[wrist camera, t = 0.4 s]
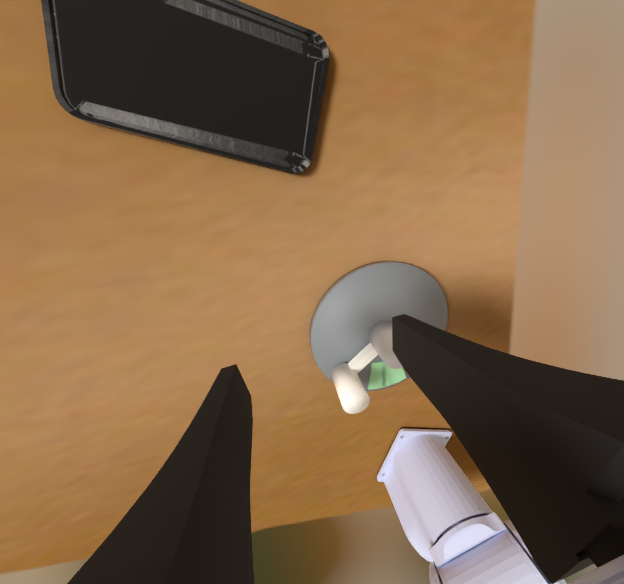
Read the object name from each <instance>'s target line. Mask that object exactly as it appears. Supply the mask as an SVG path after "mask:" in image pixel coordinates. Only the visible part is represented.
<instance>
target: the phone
mask: <svg viewBox="0 0 624 584" xmlns="http://www.w3.org/2000/svg"><path fill="white" fill-rule="evenodd" d="M41 2H42V10H43V17H44V25H45V32H46V40H47V47H48V54H49V62H50V69H51V77H52V84H53V90H54V93H55V96H56V98H57V100H58V102H59V103H60V105H61V106H62V107H63V108H64V109H65V110H66V111H67V112H69V113H70V114H71V115H73V116H75V117H77V118H79V119H81V120H84V121H86V122H89V123H92V124H96V125H100V126H104V127H108V128H112V129H116V130H120V131H124V132H128V133H132V134H136V135H140V136H144V137H148V138H152V139H156V140H160V141H164V142H168V143H172V144H176V145H180V146H184V147H188V148H192V149H196V150H200V151H204V152H208V153H212V154H216V155H220V156H224V157H228V158H232V159H236V160H239V161H243V162H247V163H251V164H255V165H259V166H263V167H267V168H271V169H275V170H279V171H283V172H287V173H291V174H299V173H302V172H303V171H304V170H306V169H307V167H308V166H309V165H310V162H311V159H312V155H313V149H314V143H315V138H316V132H317V126H318V121H319V115H320V110H321V104H322V98H323V93H324V87H325V81H326V76H327V70H328V64H329V51H328V47H327V45H326V42H325V40H324V39H323V38H322V37H321V35H319V34H318V33H316V32H314V31H312V30H309V29H307V28H304V27H302V26H299V25H297V24H294V23H292V22H289V21H287V20H284V19H282V18H279V17H277V16H274V15H272V14H270V13H267V12H265V11H262V10H260V9H257V8H255V7H252V6H250V5H247V4H245V3H242V2H240V1H237V0H41Z"/></svg>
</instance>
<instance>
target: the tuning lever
mask: <svg viewBox="0 0 624 584" xmlns="http://www.w3.org/2000/svg"><path fill="white" fill-rule="evenodd" d="M369 342H370V343H369V344H368V345H367V346H366V347H365V348H364V349H363V350H362V351H360V352H359V353H358V354H357V355H356V356H355V357H354V358H353V359H352V360H351V361H350V362H349V363H343V364H339V365H338V366H336V367H335V368H334V369H333V371H332V374H331V375H332V379H333V382H334V385H335V387H336V390H337V393H338V396H339V399H340V401H341V404H342V407H343V409H344V411H345V412H347V413H350V414H356V413H359V412H361V411H363V410H364V409H366V408H367V406H368V405H369V402H370V398H369V396H368V394H367V392H366V390H365V388H364V386H363V384H362V382H361V380H360V379H359V377H358V375H357V374H358V373H359V372H360V371H361V370H362V369H363V368H364V367H365V366H366V365H367V364H368V363H369V362H371V361H372V360H373V359H374V358H375V357H376V356H377V355H379V356H380V357H381V359H382V360H383V362H384V363H385V364H386V365H387V366H388V367H389V368H392V369H399V368H403V367H402V365H401V363H400V362H399V360H398V359H397V357H396V356H395V354H394V352H393V349H392V322H381V323H379V324H377V325H376V326H375V327H374V328H373V329H372V330H371V332H370V334H369Z"/></svg>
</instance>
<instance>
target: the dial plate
mask: <svg viewBox="0 0 624 584" xmlns="http://www.w3.org/2000/svg"><path fill="white" fill-rule="evenodd" d="M402 314H406V315H408V316H411V317H413V318H416V319H418V320H420V321H423V322H425V323H427V324H430V325H432V326H434V327H437V328H439V329H441V330H444V331H446V327H447V321H448V307H447V301H446V298H445V295H444V293H443V290H442V288H441V287H440V285H439V284H438V282H437V281H436V280H435V279H434V278H433V277H432V276H430V275H429V274H428V273H426V272H425V271H423V270H421V269H419V268H417V267H415V266H412V265H409V264H406V263H403V262H397V261H379V262H373V263H369V264H366V265H363V266H360V267H358V268H356V269H354V270H352V271H350V272H348V273H347V274H345V275H344V276H342V277H341V278H340V279H338V280H337V281H336V282H335V283H334V284H333V285H332V286H331V287H330V288H329V289H328V290H327V291H326V293H325V294H324V295H323V297H322V298H321V300H320V301H319V303H318V305H317V307H316V309H315V311H314V314H313V317H312V321H311V326H310V344H311V348H312V352H313V355H314V358H315V361H316V363H317V365H318V367H319V368H320V370H321V371H322V372H323V373H324V374H325V376H326V377H328V378H329V379H330V380H331V381H333V379H332V375H331V374H332V371H333V369H334V368H335V367H336V366H338V365H339V364H343V363H349V362H350V361H351V360H352V359H353V358H354V357H355V356H356V355H357V354H358V353H359V352H360V351H362V350H363V349H364V348H365V347H366V346H367V345H368V344H369V343H370V342H369V334H370V332H371V330H372V329H373V328H374V327H375V326H376V325H377V324H379V323H381V322H392V317H395V316H398V315H402ZM357 375H358V377H359V379H360V380H361V382H362V384H363V386H364V388H365V390H366V391H372V390H379V389H384V388H388V387H391V386H393V385H396V384H398V383H400V382H402V381H404V380H406V379H408V378H409V377H410V376H409V375H408V373H407V372H406V371H405V370H404V368H399V369H392V368H389V367H388V366H387V365H386V364H385V363H384V362H383V360H382V359H381V357H380V356H379V355H377V356H376V357H375V358H374V359H373V360H372V361H371V362H369V363H368V364H367V365H366V366H365V367H364V368H363V369H362V370H361V371H360V372H359V373H358V374H357Z"/></svg>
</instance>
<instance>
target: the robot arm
mask: <svg viewBox="0 0 624 584" xmlns="http://www.w3.org/2000/svg"><path fill="white" fill-rule="evenodd" d="M392 349H393V352H394V354H395V356H396V357H397V359H398V360H399V362H400V363H401V365H402V367H403V368H404V370H405V371H406V372H407V373H408V375H409V376H410V377H411V378H412V379H413V381H414V382H415V383H416V384H417V386H418V387H419V388H420V389H421V390H422V392H423V393H424V394H425V395H426V396H427V398H428V399H429V400H430V401H431V403H432V404H433V405H434V406H435V407H436V409H437V410H438V411H439V412H440V413H441V415H442V416H443V417H444V419H445V420H446V421H447V423H448V424H449V425H450V427H451V428H452V430H453V431H454V433H455V434H456V436H457V437H458V439H459V440H460V441H461V443H462V444H463V446H464V447H465V449H466V450H467V452H468V453H469V455H470V456H471V458H472V459H473V461H474V462H475V464H476V466H477V467H478V469H479V470H480V472H481V473H482V475H483V476H484V478H485V480H486V481H487V483H488V484H489V486H490V488H491V489H492V490H493V492H494V494H495V495H496V497H497V499H498V500H499V502H500V503H501V505H502V507H503V508H504V510H505V511H506V513H507V515H508V517H509V518H510V520H511V521H510V520H506V521H504V524H505V525H504V524H503V523H502V521H501V520H500V518H499V517H498V516H497V514H496V513H495V512H492V511H491V509H490V508H489V507H488V505H487V504H486V503H485V501H484V500H483V499H482V497H481V496H480V494H479V493H478V492H477V490H476V489H475V488H474V486H473V485H472V483H471V482H470V481H469V479H468V478H467V477H466V475H465V474H464V472H463V471H462V470H461V468H460V467H459V466H458V464H457V463H456V461H455V460H454V459H453V457H452V456H451V455H450V453H449V452H448V450H447V449H446V448H445V446H446V444H447V442H448V441H449V439H450V437H451V436H452V433H451V431H450V430H433V429H404V428H403V429H401V430H400V431H399V432H398V434H397V437H396V439H395V441H394V443H393V445H392V447H391V449H390V451H389V453H388V455H387V457H386V459H385V461H384V463H383V465H382V467H381V469H380V471H379V473H378V475H377V480H378V481H379V482H384V483H385V486H386V488H387V491H388V493H389V495H390V498H391V500H392V503H393V505H394V507H395V510H396V512H397V514H398V517H399V519H400V522H401V524H402V527H403V529H404V532H405V534H406V536H407V538H408V539H409V541H410V543H411V544H412V546H413V547H414V548H415V549H416V551H417V552H418V553H419V554H420V555H421V556H422V557H423V558H425V559H426V560H428V561H430V562H431V563H430V565H429V569H430V574H429V578H430V583H431V584H624V381H622V380H617V379H611V378H606V377H601V376H596V375H591V374H586V373H581V372H576V371H572V370H567V369H562V368H559V367H555V366H551V365H547V364H543V363H539V362H534V361H531V360H527V359H524V358H520V357H517V356H513V355H510V354H507V353H504V352H500V351H497V350H494V349H491V348H488V347H485V346H482V345H480V344H477V343H474V342H471V341H469V340H466V339H463V338H461V337H458V336H456V335H453V334H451V333H448V332H446V331H444V330H441V329H439V328H437V327H434V326H432V325H430V324H427V323H425V322H423V321H420V320H418V319H416V318H413V317H411V316H408V315H406V314H402V315H398V316H395V317H392ZM252 425H253V417H252V403H251V395H250V393H249V391H248V389H247V386H246V384H245V382H244V380H243V378H242V376H241V374H240V372H239V369H238V367H237V365H232V366H229V367H226V368H222V369H221V371H220V372H219V374H218V376H217V378H216V380H215V381H214V383H213V385H212V387H211V389H210V391H209V392H208V394H207V396H206V398H205V400H204V401H203V403H202V405H201V407H200V408H199V410H198V412H197V414H196V415H195V417H194V419H193V420H192V422H191V424H190V425H189V427H188V429H187V430H186V432H185V433H184V435H183V436H182V438H181V440H180V441H179V443H178V444H177V446H176V447H175V449H174V450H173V452H172V453H171V455H170V456H169V458H168V459H167V461H166V462H165V464H164V465H163V467H162V468H161V469H160V471H159V472H158V473H157V475H156V476H155V478H154V479H153V480H152V482H151V483H150V484H149V486H148V487H147V488H146V490H145V491H144V492H143V493H142V495H141V496H140V497H139V499H138V500H137V501H136V502H135V504H134V505H133V506H132V507H131V509H130V510H129V511H128V512H127V514H126V515H125V516H124V517H123V519H122V520H121V521H120V523H119V524H118V525H117V526H116V528H115V529H114V530H113V531H112V532H111V534H110V535H109V536H108V537H107V538H106V540H105V541H104V542H103V543H102V544H101V545H100V547H99V548H98V549H97V550H96V551H95V553H94V554H93V555H92V556H91V557H90V558H89V559H88V561H87V562H86V563H85V564H84V565H83V566H82V568H81V569H80V570H79V571H78V572H77V573H76V574H75V575H74V577H73V578H72V579H71V580H70V581H69V582H68V584H254V573H253V556H252V537H251V514H250V470H251V449H252ZM505 526H506V527H505ZM592 564H595V565H596V566H597V567H598V568H596V569H594V570H592V571H590V572H588V573H586V574H585V575H583V576H581V577H579V578H577V579H575V580H573V581H571V582H569V583H566V582H565V580H564V578H566V577H568V576H570V575H572V574H574V573H576V572H578V571H580V570H582V569H584V568H586V567H588V566H590V565H592Z"/></svg>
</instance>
